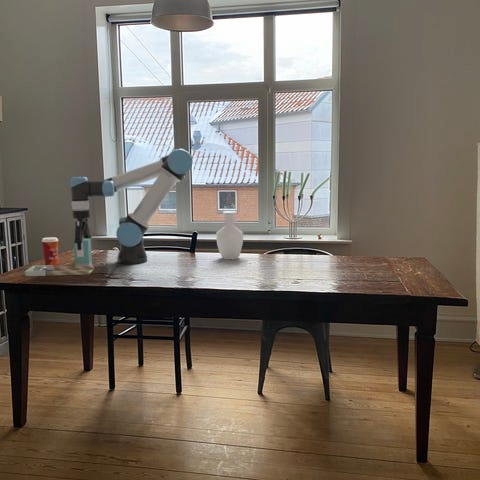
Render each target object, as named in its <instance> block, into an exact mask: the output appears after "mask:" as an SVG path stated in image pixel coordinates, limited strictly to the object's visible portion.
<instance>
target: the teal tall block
mask: <svg viewBox="0 0 480 480" xmlns="http://www.w3.org/2000/svg"><path fill="white" fill-rule="evenodd" d="M91 240H92V239H91V238H89V239H85V238H82V243H83V255H84V256H83V257H77V246H76V243H74V241H75V239H74V240H73V256H74V266H93V257H92V256H93V255H92V241H91Z"/></svg>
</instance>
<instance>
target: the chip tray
mask: <svg viewBox="0 0 480 480" xmlns="http://www.w3.org/2000/svg"><path fill="white" fill-rule="evenodd" d="M40 266H46V271H54V268H53V267H54V266H53V265H45V264H44V265H41V264H40V265H33V266H31V267H29V268H28V269H26V270H25V271H24V277H40V276H41V277H45V276H47V272H45V270H44V271H34V270H33V269H37V267H40Z"/></svg>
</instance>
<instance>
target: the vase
mask: <svg viewBox="0 0 480 480" xmlns="http://www.w3.org/2000/svg"><path fill="white" fill-rule="evenodd" d="M237 213H238V212H237V211H235V210H234V211H233V210H231V211H230V210H229V211H228V210H225V211H222V215H223V219H224V222H225V225H224V226H223V227H221V228H220V229H219V230H217V231H216V234H215V235H216V236H215V237H216V244H217V249H218V251H219V254H220V255H221V258H222V259H223V258H224V260H229V259H232V260H237V258H238V259H239V257H240V255H241V252H242V247H243V244H244V231H242V230H241V229H240V228H238V227H237V226H236V225H235V220H236V217H237Z"/></svg>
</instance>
